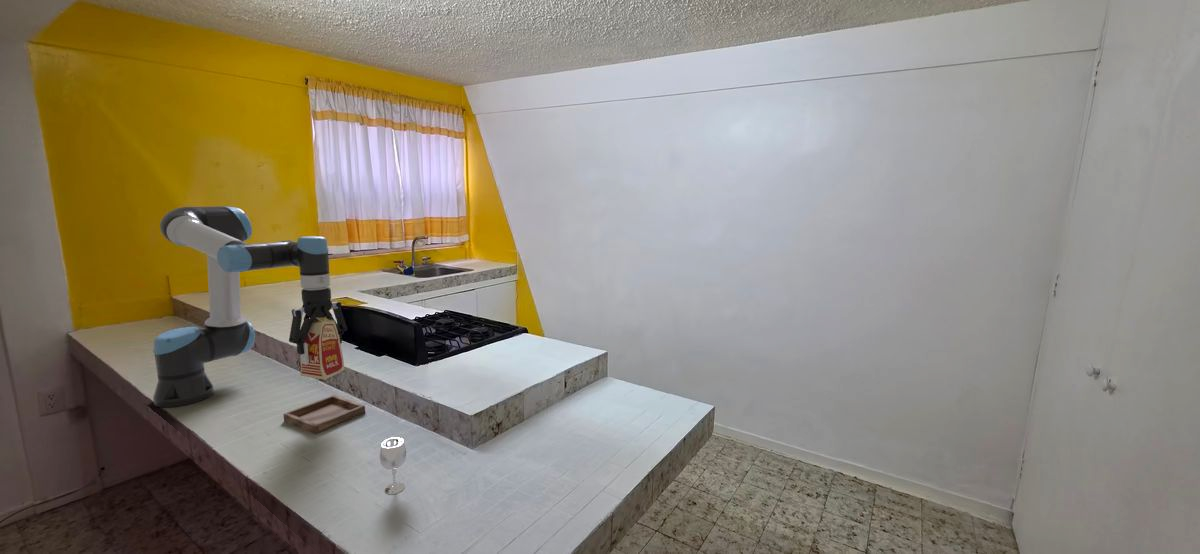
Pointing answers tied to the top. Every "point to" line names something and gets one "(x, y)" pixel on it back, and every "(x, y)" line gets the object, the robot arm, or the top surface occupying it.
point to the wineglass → (393, 461)
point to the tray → (324, 414)
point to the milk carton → (323, 350)
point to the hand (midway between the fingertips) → (321, 358)
